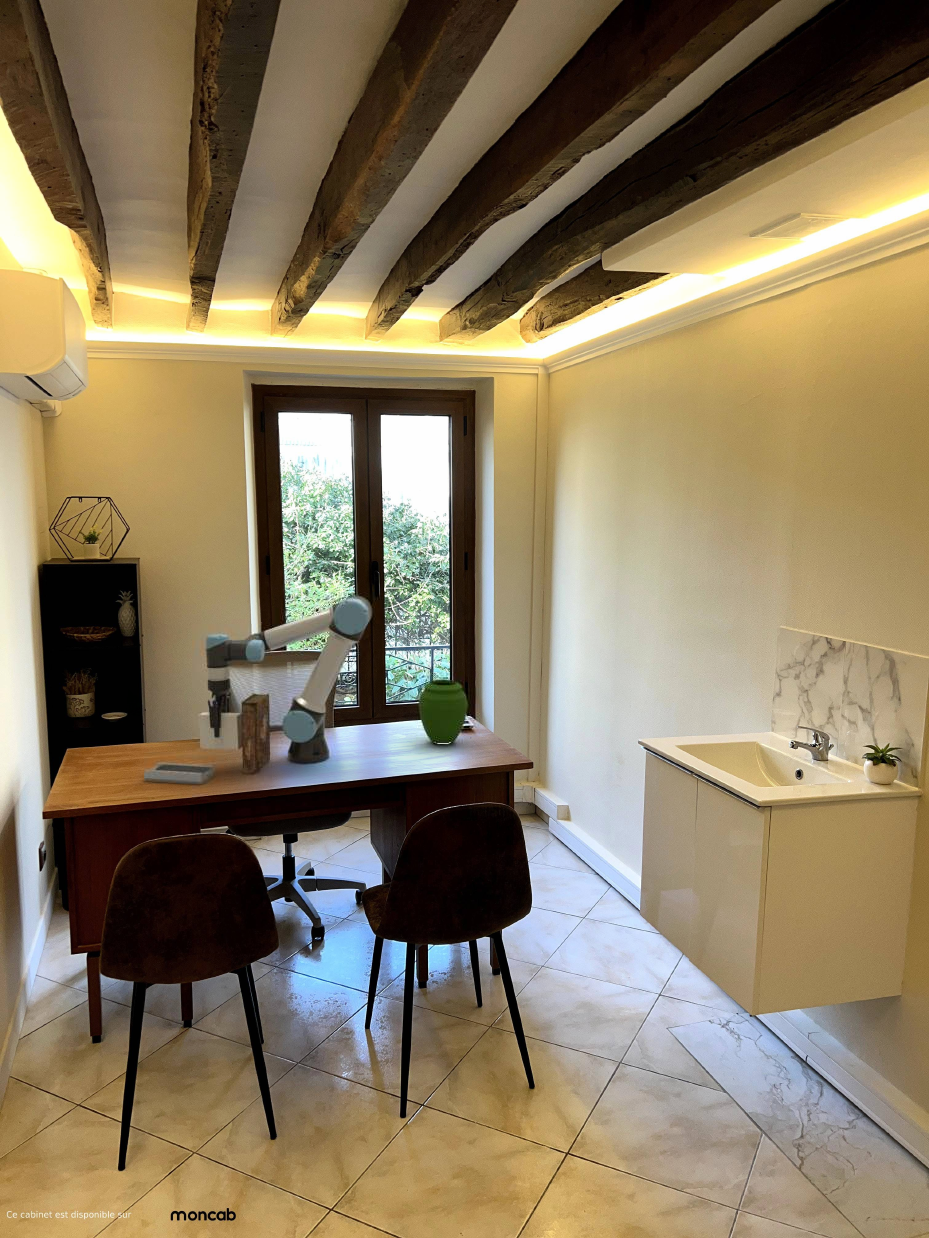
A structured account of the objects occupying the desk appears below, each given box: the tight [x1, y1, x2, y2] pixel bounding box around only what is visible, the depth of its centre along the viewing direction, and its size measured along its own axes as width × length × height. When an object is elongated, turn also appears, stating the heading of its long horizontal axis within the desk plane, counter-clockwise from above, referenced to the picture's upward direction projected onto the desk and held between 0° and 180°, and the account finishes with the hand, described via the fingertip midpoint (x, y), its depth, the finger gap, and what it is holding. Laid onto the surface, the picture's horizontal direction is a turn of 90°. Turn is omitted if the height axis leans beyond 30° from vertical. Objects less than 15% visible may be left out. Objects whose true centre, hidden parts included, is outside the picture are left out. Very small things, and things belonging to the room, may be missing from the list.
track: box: [143, 762, 215, 786], centre depth 275 cm, size 20×10×4 cm, turn 81°
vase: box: [418, 679, 469, 743], centre depth 323 cm, size 20×20×24 cm
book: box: [241, 692, 271, 775], centre depth 287 cm, size 16×6×25 cm, turn 178°
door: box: [198, 711, 242, 751], centre depth 286 cm, size 14×4×12 cm, turn 81°
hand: (221, 743), depth 287 cm, fingers closed on door, 4 cm apart
